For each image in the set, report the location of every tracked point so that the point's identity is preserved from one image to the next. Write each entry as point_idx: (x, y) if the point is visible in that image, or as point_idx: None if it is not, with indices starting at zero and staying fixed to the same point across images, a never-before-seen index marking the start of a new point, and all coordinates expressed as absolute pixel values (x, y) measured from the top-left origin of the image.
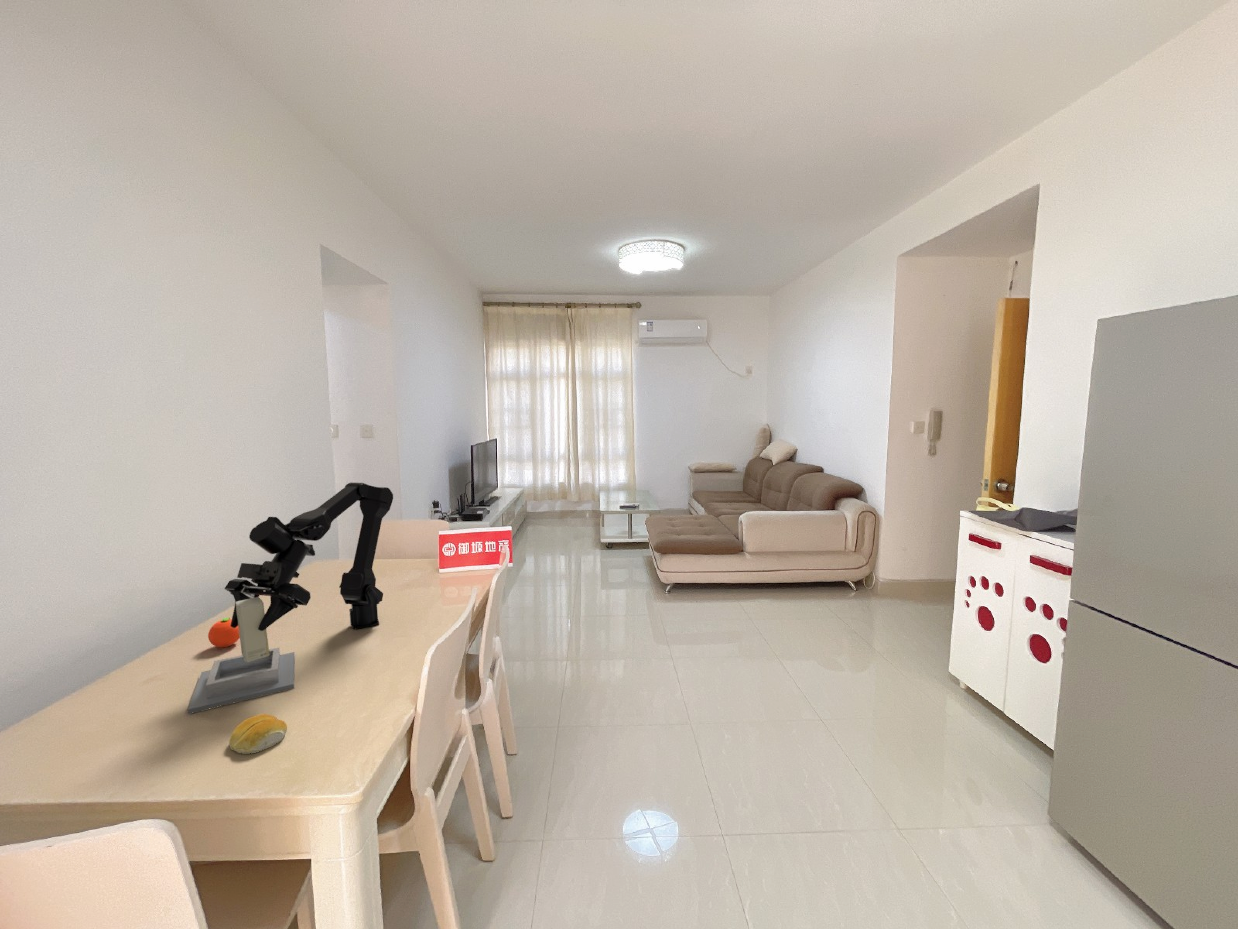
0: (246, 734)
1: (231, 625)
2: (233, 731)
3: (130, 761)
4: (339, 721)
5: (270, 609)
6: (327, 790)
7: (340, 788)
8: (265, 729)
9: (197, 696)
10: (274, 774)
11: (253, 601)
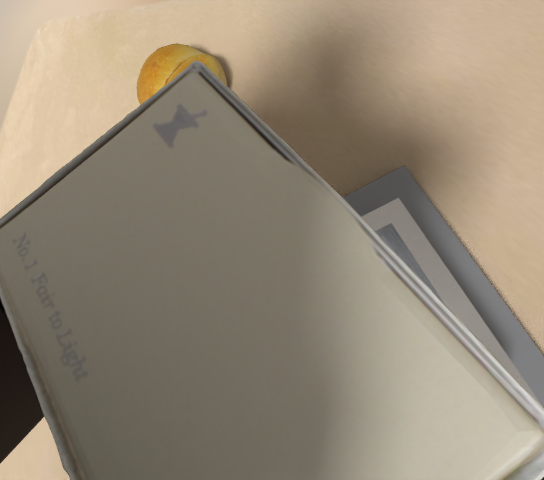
0: (177, 46)
1: None
2: (215, 67)
3: (384, 31)
4: (78, 146)
5: None
6: (66, 18)
7: (54, 22)
8: (149, 56)
9: (434, 228)
10: (132, 32)
11: (135, 337)
